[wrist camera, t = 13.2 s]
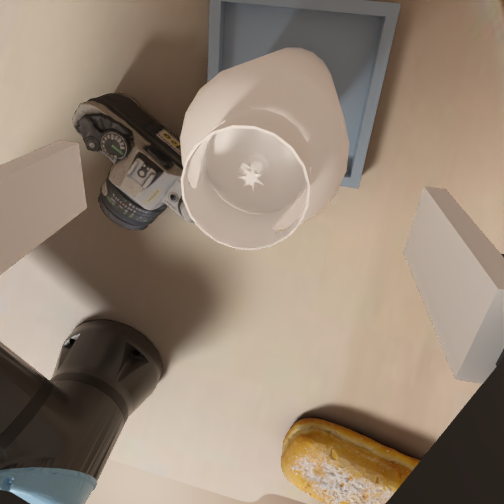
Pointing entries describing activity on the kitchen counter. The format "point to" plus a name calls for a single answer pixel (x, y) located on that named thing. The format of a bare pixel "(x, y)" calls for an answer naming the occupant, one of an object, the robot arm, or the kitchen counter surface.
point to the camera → (133, 160)
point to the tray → (315, 51)
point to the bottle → (263, 149)
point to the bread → (342, 464)
